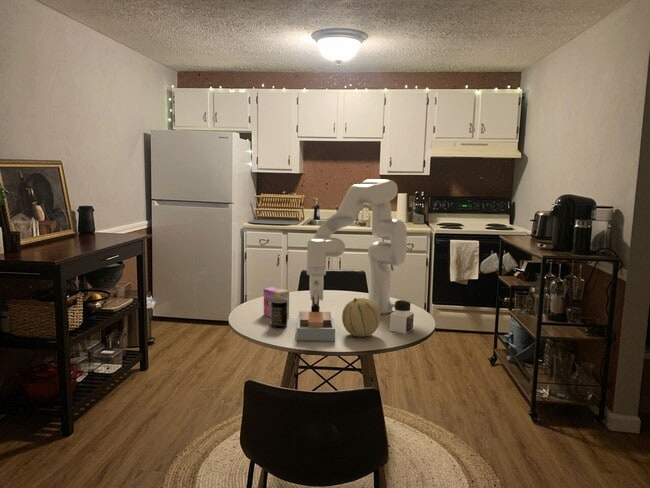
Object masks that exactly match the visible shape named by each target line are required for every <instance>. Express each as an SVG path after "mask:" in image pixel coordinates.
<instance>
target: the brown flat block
mask: <svg viewBox="0 0 650 488" xmlns="http://www.w3.org/2000/svg"><path fill="white" fill-rule="evenodd" d="M309 312H310V311H303V310H302V311H301V310H299V311H298V313H299V314H298V318H300V326H308V321H309ZM322 312H323V326H327V327H331V319H333V318H332V314H331V313H332V312H330V311H322Z"/></svg>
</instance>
